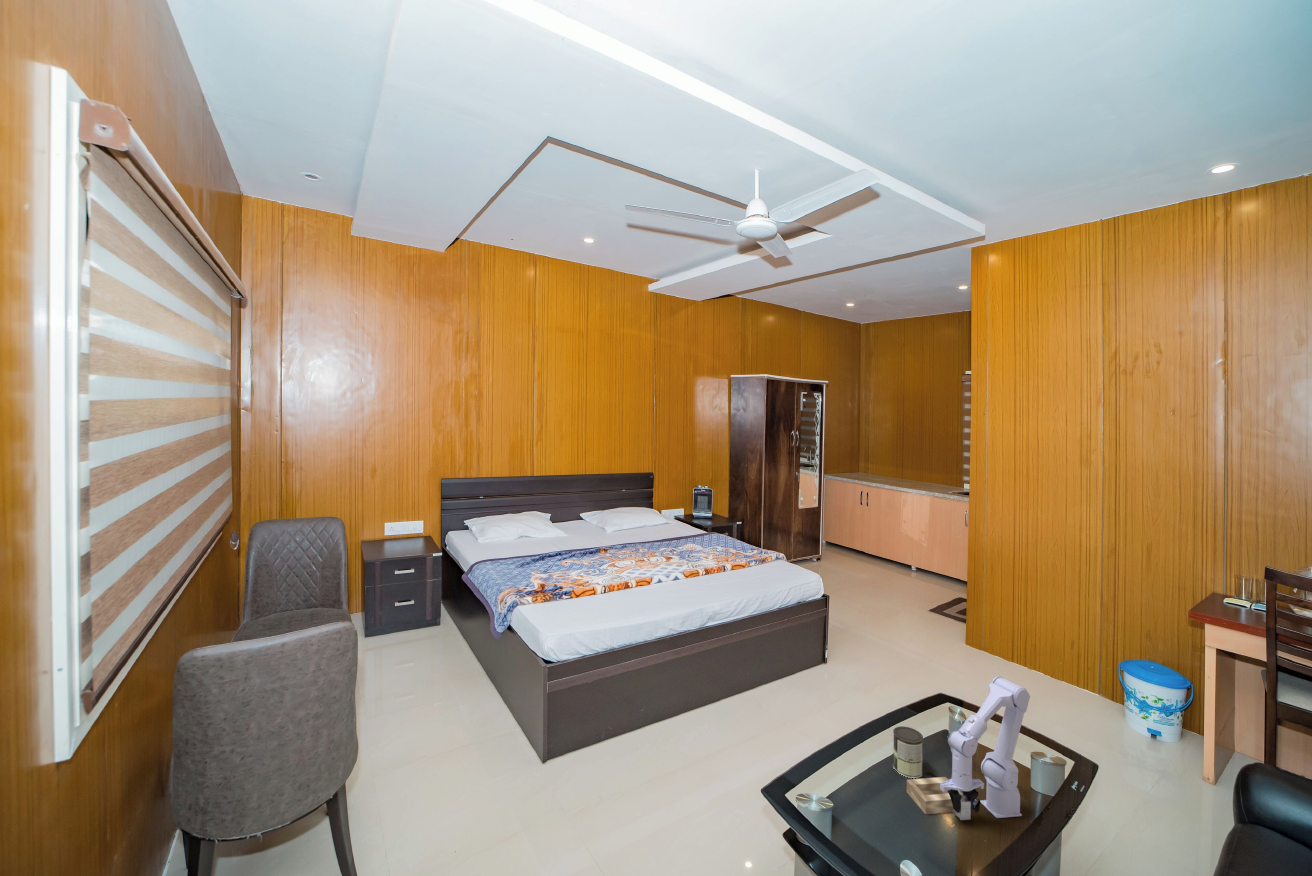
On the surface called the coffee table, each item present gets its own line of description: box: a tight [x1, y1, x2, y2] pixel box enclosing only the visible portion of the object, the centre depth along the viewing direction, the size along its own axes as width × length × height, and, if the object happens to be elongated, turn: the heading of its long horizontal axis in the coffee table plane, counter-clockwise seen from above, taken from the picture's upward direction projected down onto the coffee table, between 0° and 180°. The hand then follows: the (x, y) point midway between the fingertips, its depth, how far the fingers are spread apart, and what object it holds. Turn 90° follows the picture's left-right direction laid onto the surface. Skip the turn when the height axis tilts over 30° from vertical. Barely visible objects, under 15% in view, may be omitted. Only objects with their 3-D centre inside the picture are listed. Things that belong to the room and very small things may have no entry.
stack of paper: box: [952, 792, 972, 821], centre depth 177 cm, size 3×4×7 cm
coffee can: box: [892, 726, 924, 779], centre depth 202 cm, size 10×10×14 cm
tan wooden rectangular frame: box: [906, 776, 962, 815], centre depth 185 cm, size 15×11×4 cm
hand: (961, 809), depth 177 cm, fingers closed on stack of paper, 3 cm apart
